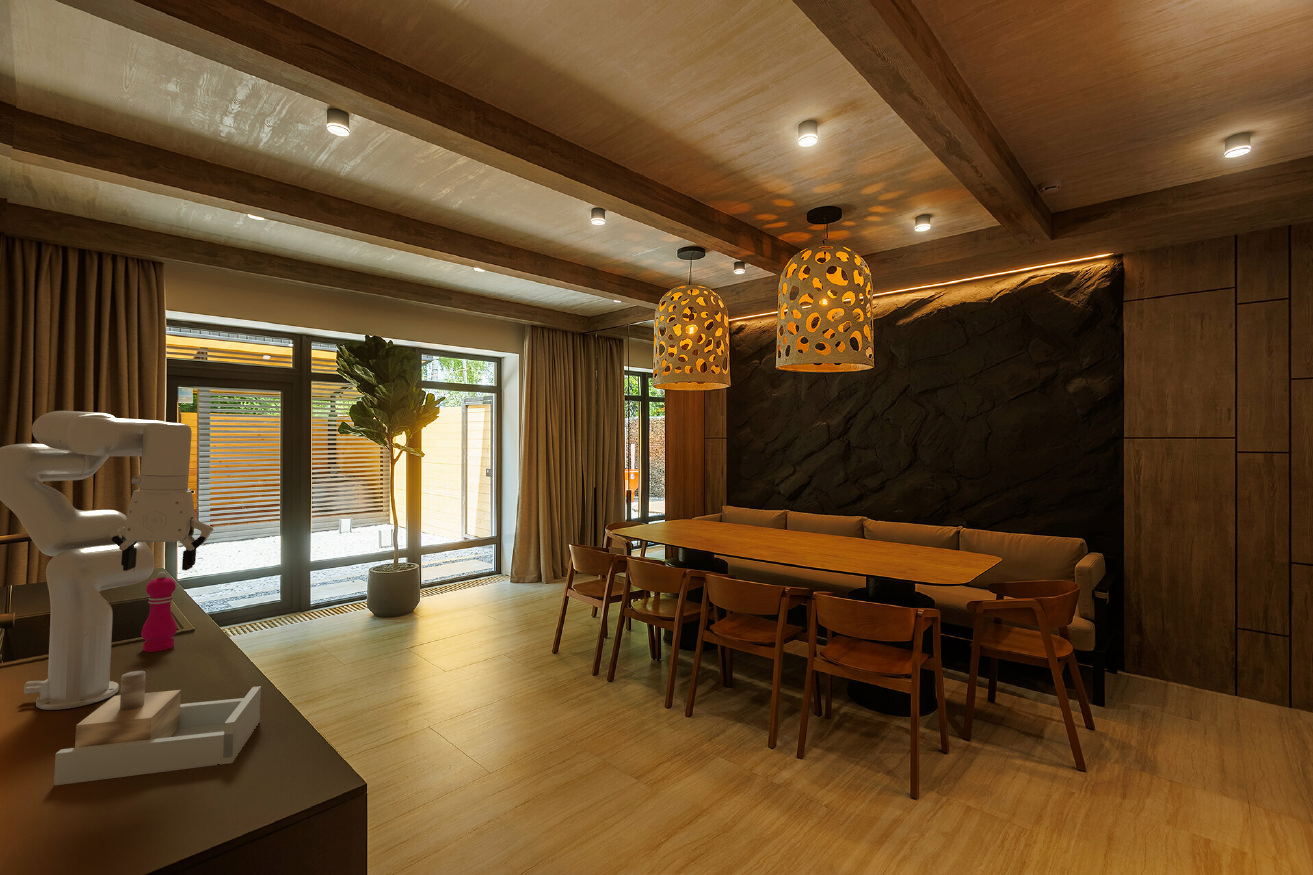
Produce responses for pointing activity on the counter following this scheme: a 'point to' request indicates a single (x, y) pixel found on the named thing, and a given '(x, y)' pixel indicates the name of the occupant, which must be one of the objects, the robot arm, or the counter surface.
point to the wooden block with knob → (131, 715)
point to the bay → (169, 744)
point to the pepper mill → (159, 615)
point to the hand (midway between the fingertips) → (158, 569)
